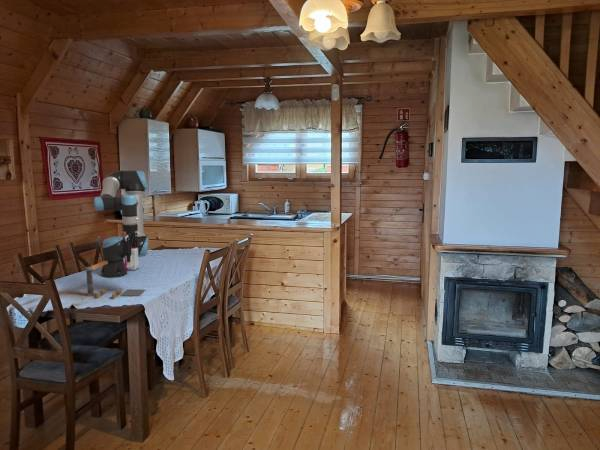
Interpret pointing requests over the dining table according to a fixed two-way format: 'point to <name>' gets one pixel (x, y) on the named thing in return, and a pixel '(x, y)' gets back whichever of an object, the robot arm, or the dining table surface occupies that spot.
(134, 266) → the supplement box
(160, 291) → the dining table surface
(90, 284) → the socket
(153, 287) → the dining table surface
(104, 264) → the clip
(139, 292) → the pad
